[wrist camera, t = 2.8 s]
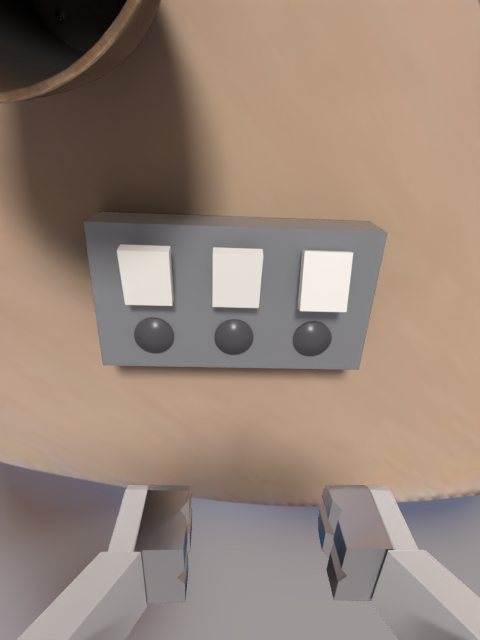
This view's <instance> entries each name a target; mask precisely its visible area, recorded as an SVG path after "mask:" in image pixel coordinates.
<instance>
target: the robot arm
mask: <svg viewBox="0 0 480 640" xmlns="http://www.w3.org/2000/svg"><path fill="white" fill-rule="evenodd" d="M191 497H192V494H191V486H168V485H128V487H127V489H126V490H125V493H124V496H123V500H122V503H121V507H120V510H119V514H118V517H117V521H116V524H115V528H114V531H113V534H112V538H111V541H110V545H109V548H108V552H100V553H99V554H98V555H97V556H96V557H95V558H94V559H93V560H92V562H91V563H90V564H89V565H88V566H87V567H86V568H85V569H84V570H83V571H82V572H81V573H80V574H79V575H78V576H77V577H76V578H75V579H74V580H73V581H72V582H71V583H70V584H69V586H68V587H67V588H66V589H65V590H64V591H63V592H62V593H61V594H60V595H59V596H58V597H57V598H56V599H55V600H54V601H53V602H52V603H51V604H50V605H49V607H47V609H46V610H45V611H44V612H43V613H42V614H41V615H40V616H39V617H38V618H37V619H36V620H35V621H34V622H33V623H32V624H31V625H30V626H29V627H28V628H27V629H26V630H25V631H24V632H23V633H22V635H21V636H20V637H19V638H18V639H17V640H125V639H126V638H127V636H128V635H129V633H130V632H131V630H132V629H133V627H134V625H135V624H136V622H137V621H138V619H139V618H140V616H141V615H142V613H143V612H144V610H145V609H146V607H147V603H172V602H185V600H186V590H187V578H188V553H189V552H190V545H191V530H192V509H191ZM322 498H323V502H324V506H323V507H321V508H320V510H319V517H318V531H319V538H320V543H321V548H322V551H323V552H324V553H325V554H326V555H327V556H328V557H329V561H328V565H327V574H328V577H329V582H330V586H331V591H332V595H333V599H334V600H348V601H350V600H351V601H371V604H372V606H373V607H374V608H375V609H376V611H377V612H378V613H379V615H380V616H381V617H382V618H383V620H384V621H385V622H386V624H387V625H388V626H389V627H390V629H391V630H392V631H393V633H394V634H395V635H396V636H397V638H398V639H399V640H480V598H479V597H478V596H477V595H476V594H475V593H473V592H472V591H471V590H470V589H469V588H468V587H467V586H465V585H464V584H463V583H462V582H461V581H460V580H459V579H457V578H456V577H455V576H454V575H453V574H452V573H451V572H449V571H448V570H447V569H446V568H445V567H444V566H443V565H441V564H440V563H439V562H438V561H437V560H436V559H435V558H434V557H432V556H431V555H430V554H429V553H428V552H426V551H425V550H418V548H417V545H416V543H415V541H414V539H413V537H412V535H411V533H410V531H409V529H408V526H407V524H406V522H405V520H404V518H403V516H402V514H401V512H400V509H399V507H398V505H397V503H396V501H395V499H394V497H393V495H392V492H391V490H390V489H389V488H388V487H387V486H364V485H347V486H325V488H324V490H323V495H322Z"/></svg>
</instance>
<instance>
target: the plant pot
mask: <svg viewBox="0 0 480 640" xmlns="http://www.w3.org/2000/svg"><path fill="white" fill-rule="evenodd" d="M160 1H161V0H127V1H126V3H125V4H124V6H123V7H122V4H123V0H0V103H10V102H16V101H22V100H28V99H33V98H38V97H43V96H49V95H53V94H57V93H61V92H64V91H68V90H71V89H74V88H77V87H80V86H82V85H84V84H87V83H89V82H91V81H93V80H96V79H98V78H99V77H101V76H103V75H105V74H107V73H108V72H110V71H111V70H113V69H114V68H115V67H117V66H118V65H119V64H120V63H122V62H123V61H124V60H125V59H126V58H127V57H128V56H129V55H130V54H131V53H132V52H133V51H134V50H135V49H136V47H137V46H138V45H139V43H140V42H141V41H142V39H143V38H144V36H145V34H146V33H147V31H148V29H149V28H150V25H151V23H152V21H153V19H154V17H155V14H156V12H157V9H158V7H159V4H160ZM56 12H59V13H60V15H61V16H63V18H62V19H60V20H59V19H57V18H56V16H55V13H56Z"/></svg>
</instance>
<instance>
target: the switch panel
mask: <svg viewBox="0 0 480 640" xmlns="http://www.w3.org/2000/svg"><path fill="white" fill-rule="evenodd" d="M83 224H84V231H85V239H86V246H87V253H88V261H89V268H90V275H91V283H92V290H93V297H94V305H95V312H96V319H97V327H98V334H99V341H100V349H101V356H102V363H103V365H114V366H171V367H229V368H286V369H343V370H359V366H360V361H361V356H362V352H363V347H364V342H365V337H366V333H367V328H368V323H369V318H370V313H371V309H372V304H373V299H374V294H375V290H376V285H377V280H378V275H379V270H380V266H381V261H382V256H383V251H384V246H385V242H386V237H387V232H386V231H385V230H383V229H381V228H380V227H378V226H376V225H375V224H373V223H371V222H369V221H347V220H319V219H291V218H263V217H235V216H207V215H179V214H151V213H123V212H99V213H97V214H95V215H94V216H92V217H90V218H89V219H87V220H85V221H84V222H83ZM120 244H123V245H154V246H170V247H171V262H172V277H173V292H174V301H173V305H172V306H154V305H125V301H124V294H123V288H122V282H121V275H120V269H119V262H118V256H117V249H118V247H119V245H120ZM213 247H217V248H248V249H263V266H262V277H261V288H260V300H259V308H235V307H212V300H213ZM302 250H324V251H350V252H353V260H352V269H351V277H350V286H349V295H348V304H347V312H315V311H299V309H298V295H299V282H300V270H301V257H302Z"/></svg>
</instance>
